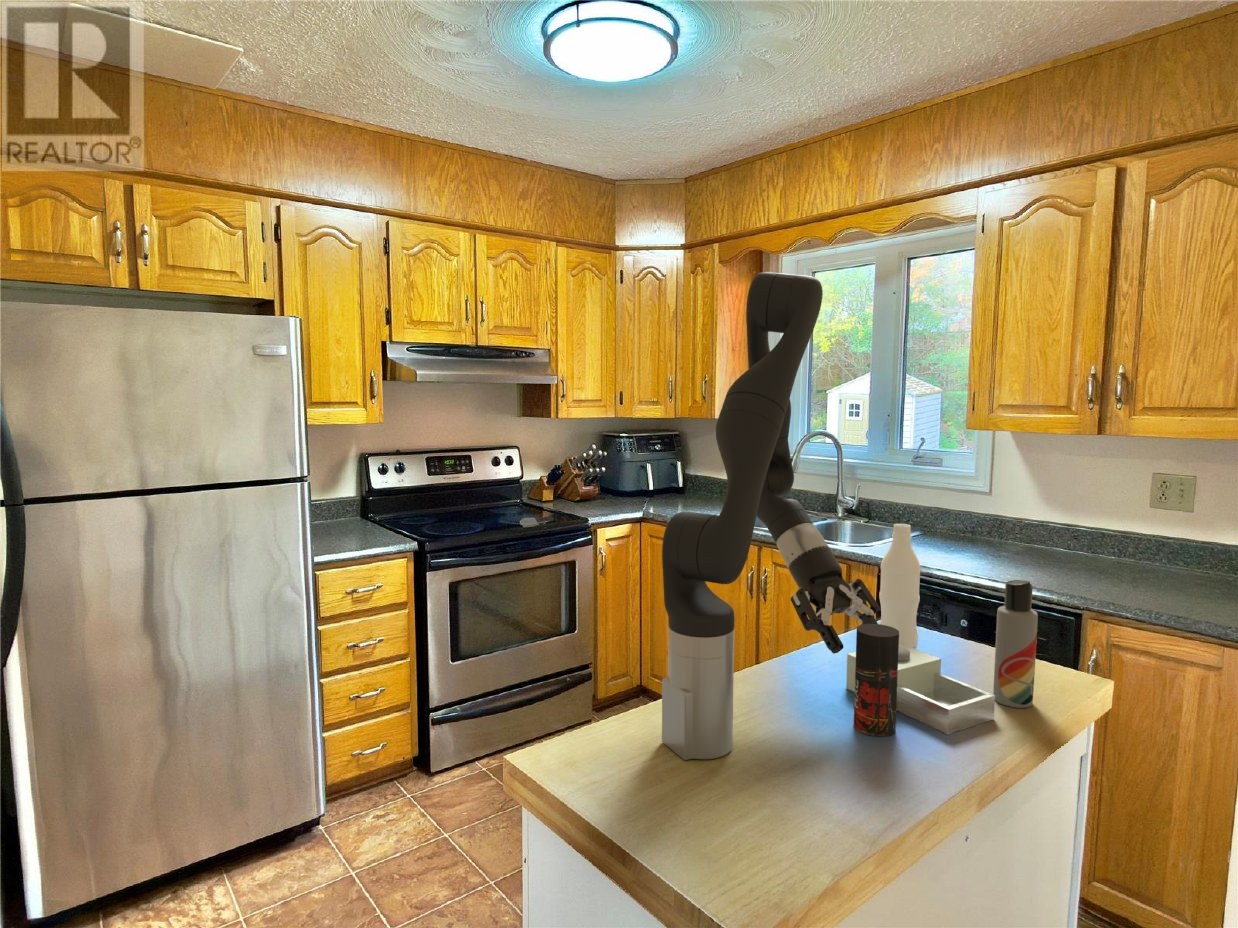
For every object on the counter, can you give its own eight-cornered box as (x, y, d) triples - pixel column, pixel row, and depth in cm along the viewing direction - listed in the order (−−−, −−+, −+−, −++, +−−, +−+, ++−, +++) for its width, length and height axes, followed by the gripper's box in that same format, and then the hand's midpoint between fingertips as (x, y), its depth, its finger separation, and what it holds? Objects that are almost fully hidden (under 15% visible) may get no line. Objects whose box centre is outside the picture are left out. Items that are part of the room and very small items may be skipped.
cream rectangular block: (888, 708, 113) (890, 666, 113) (846, 688, 121) (847, 648, 121) (939, 693, 119) (941, 653, 118) (895, 675, 127) (897, 636, 126)
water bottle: (905, 662, 133) (910, 530, 130) (870, 652, 138) (874, 524, 136) (924, 653, 137) (929, 525, 135) (889, 643, 143) (894, 520, 140)
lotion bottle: (1029, 712, 112) (1037, 587, 110) (989, 702, 115) (996, 581, 114) (1035, 699, 117) (1042, 579, 115) (996, 691, 120) (1002, 574, 118)
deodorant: (845, 721, 109) (848, 626, 107) (878, 716, 111) (881, 622, 109) (870, 739, 103) (873, 638, 102) (904, 733, 105) (908, 634, 104)
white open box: (947, 734, 105) (948, 709, 104) (891, 707, 114) (892, 684, 113) (993, 719, 110) (995, 695, 109) (936, 694, 119) (937, 672, 118)
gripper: (786, 549, 112) (838, 642, 103) (852, 540, 119) (906, 626, 110) (763, 575, 117) (811, 666, 108) (828, 564, 124) (878, 649, 115)
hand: (859, 646), depth 109 cm, fingers open, 8 cm apart
